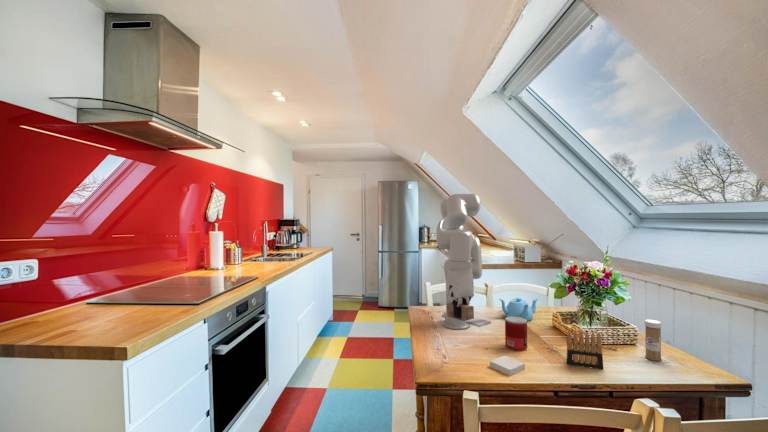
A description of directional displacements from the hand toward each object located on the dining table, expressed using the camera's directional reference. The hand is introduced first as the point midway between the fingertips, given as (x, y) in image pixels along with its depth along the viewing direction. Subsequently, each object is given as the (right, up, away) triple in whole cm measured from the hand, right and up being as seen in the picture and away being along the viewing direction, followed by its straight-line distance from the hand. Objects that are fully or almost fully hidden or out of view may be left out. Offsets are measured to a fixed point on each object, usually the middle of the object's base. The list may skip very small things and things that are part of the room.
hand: (461, 316), depth 120 cm
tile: (+12, -15, -4) cm, 19 cm away
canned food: (+24, -16, +10) cm, 31 cm away
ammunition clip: (+41, -16, -6) cm, 44 cm away
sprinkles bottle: (+69, -15, -1) cm, 70 cm away
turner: (+1, -1, -2) cm, 3 cm away
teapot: (+40, -16, +46) cm, 63 cm away
